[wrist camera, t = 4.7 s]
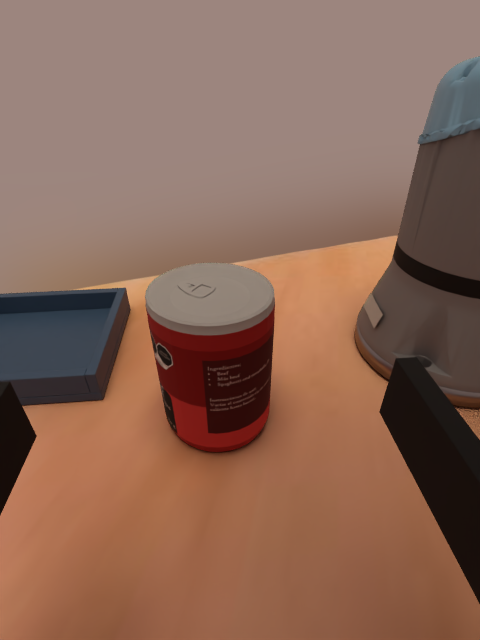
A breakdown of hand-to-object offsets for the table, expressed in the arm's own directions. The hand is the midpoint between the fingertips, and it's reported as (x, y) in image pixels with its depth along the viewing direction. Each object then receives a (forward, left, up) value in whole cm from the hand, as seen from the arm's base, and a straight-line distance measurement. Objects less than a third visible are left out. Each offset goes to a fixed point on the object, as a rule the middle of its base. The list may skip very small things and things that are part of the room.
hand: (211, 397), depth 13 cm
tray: (+17, -19, -12) cm, 28 cm away
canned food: (0, -10, -12) cm, 16 cm away
